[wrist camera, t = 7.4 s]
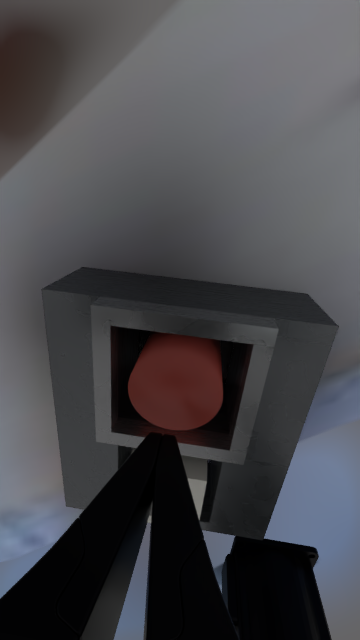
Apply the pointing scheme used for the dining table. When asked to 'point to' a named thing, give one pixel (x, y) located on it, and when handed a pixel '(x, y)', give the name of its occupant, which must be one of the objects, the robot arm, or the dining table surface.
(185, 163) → the dining table surface
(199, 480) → the on key
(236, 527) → the grey flat box
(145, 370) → the button
